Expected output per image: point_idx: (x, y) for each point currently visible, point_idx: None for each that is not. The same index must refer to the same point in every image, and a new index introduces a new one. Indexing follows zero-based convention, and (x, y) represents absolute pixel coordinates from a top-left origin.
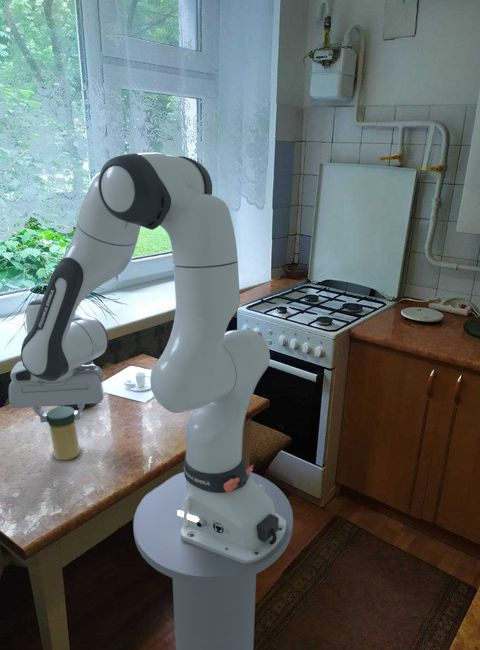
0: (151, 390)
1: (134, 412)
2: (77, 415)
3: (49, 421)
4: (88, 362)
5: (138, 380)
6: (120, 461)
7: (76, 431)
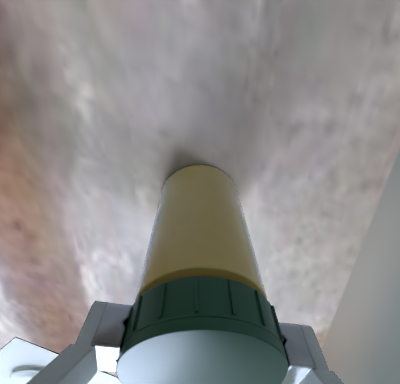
0: (13, 366)
1: (32, 314)
2: (97, 333)
3: (274, 322)
4: None
5: None
6: (6, 92)
7: (147, 250)
